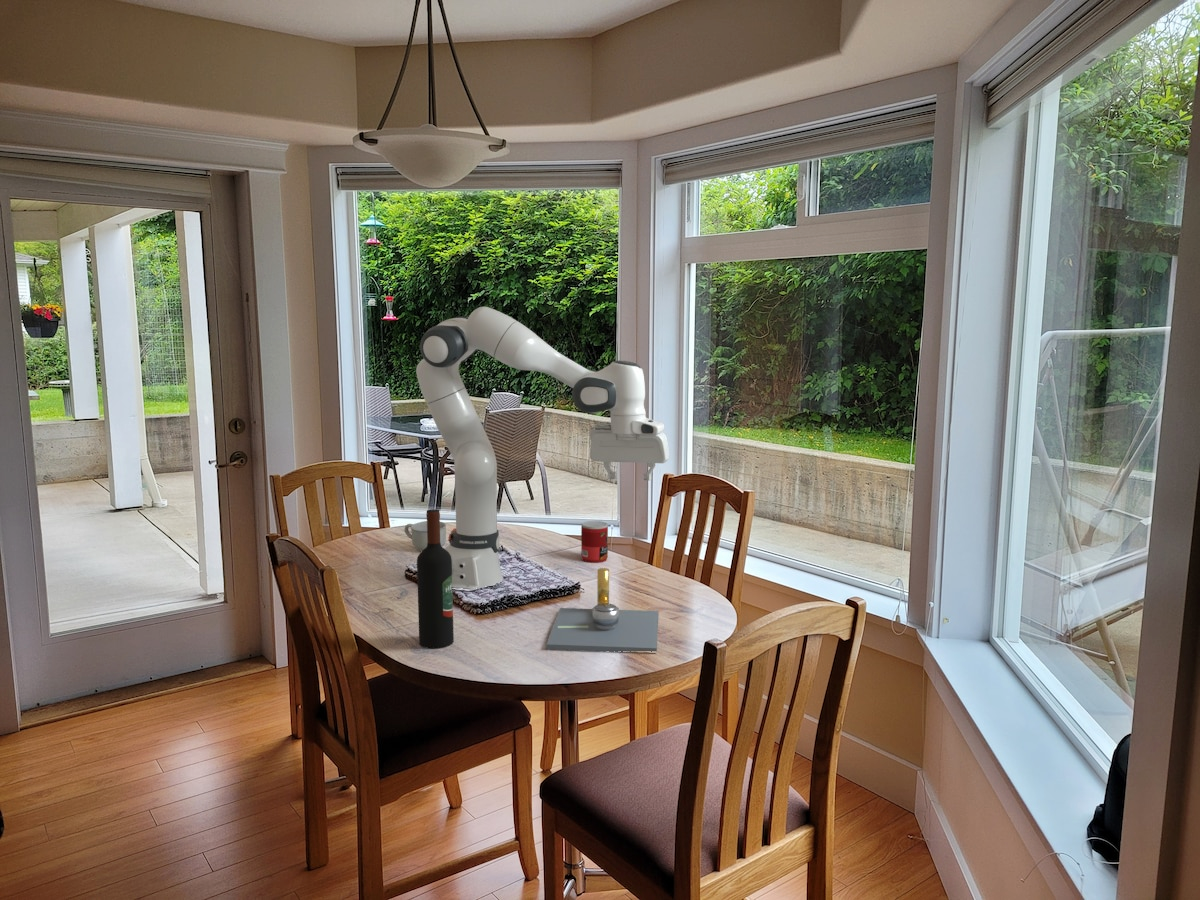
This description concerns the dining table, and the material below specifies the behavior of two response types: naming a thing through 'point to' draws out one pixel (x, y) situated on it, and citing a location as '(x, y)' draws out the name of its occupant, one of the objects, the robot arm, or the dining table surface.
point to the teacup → (423, 534)
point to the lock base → (604, 632)
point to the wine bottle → (435, 589)
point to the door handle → (604, 602)
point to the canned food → (594, 541)
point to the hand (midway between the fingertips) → (629, 479)
